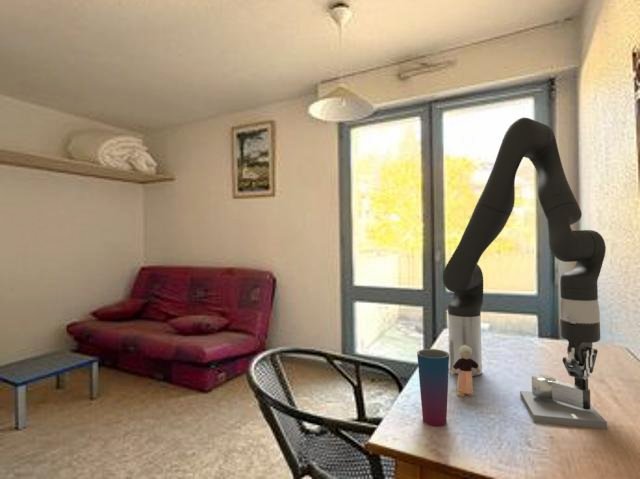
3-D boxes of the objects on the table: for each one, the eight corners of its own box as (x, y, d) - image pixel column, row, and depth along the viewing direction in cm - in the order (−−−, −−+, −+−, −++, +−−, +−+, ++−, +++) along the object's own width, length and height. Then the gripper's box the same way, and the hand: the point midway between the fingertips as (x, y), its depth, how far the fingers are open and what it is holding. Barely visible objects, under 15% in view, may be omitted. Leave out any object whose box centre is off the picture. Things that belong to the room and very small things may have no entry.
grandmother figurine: (458, 399, 96) (457, 348, 96) (449, 393, 100) (448, 344, 100) (484, 395, 98) (483, 345, 98) (474, 389, 102) (473, 341, 102)
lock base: (533, 421, 83) (533, 414, 83) (520, 396, 96) (520, 390, 96) (608, 429, 79) (608, 421, 79) (583, 402, 92) (583, 395, 92)
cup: (426, 411, 89) (424, 347, 89) (455, 419, 85) (453, 352, 85) (413, 422, 84) (411, 354, 84) (443, 431, 80) (441, 360, 80)
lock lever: (528, 394, 92) (527, 377, 92) (538, 389, 94) (537, 373, 94) (585, 412, 82) (585, 393, 82) (594, 405, 85) (594, 387, 85)
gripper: (573, 311, 94) (575, 381, 94) (548, 320, 86) (550, 396, 86) (610, 316, 88) (612, 391, 88) (586, 325, 80) (588, 408, 80)
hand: (581, 393), depth 87 cm, fingers closed
